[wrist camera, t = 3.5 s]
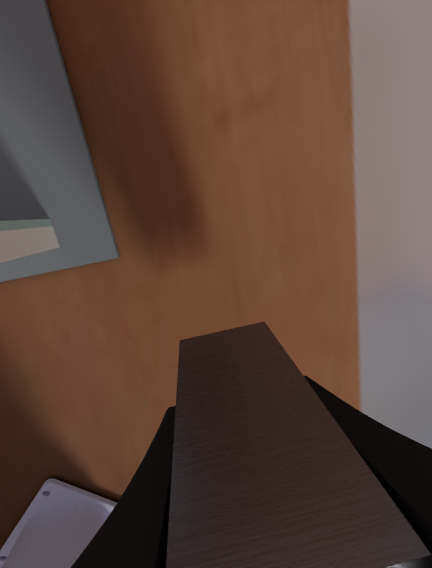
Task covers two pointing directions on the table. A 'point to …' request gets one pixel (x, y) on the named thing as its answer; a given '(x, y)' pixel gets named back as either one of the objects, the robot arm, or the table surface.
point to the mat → (45, 147)
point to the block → (271, 469)
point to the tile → (26, 238)
